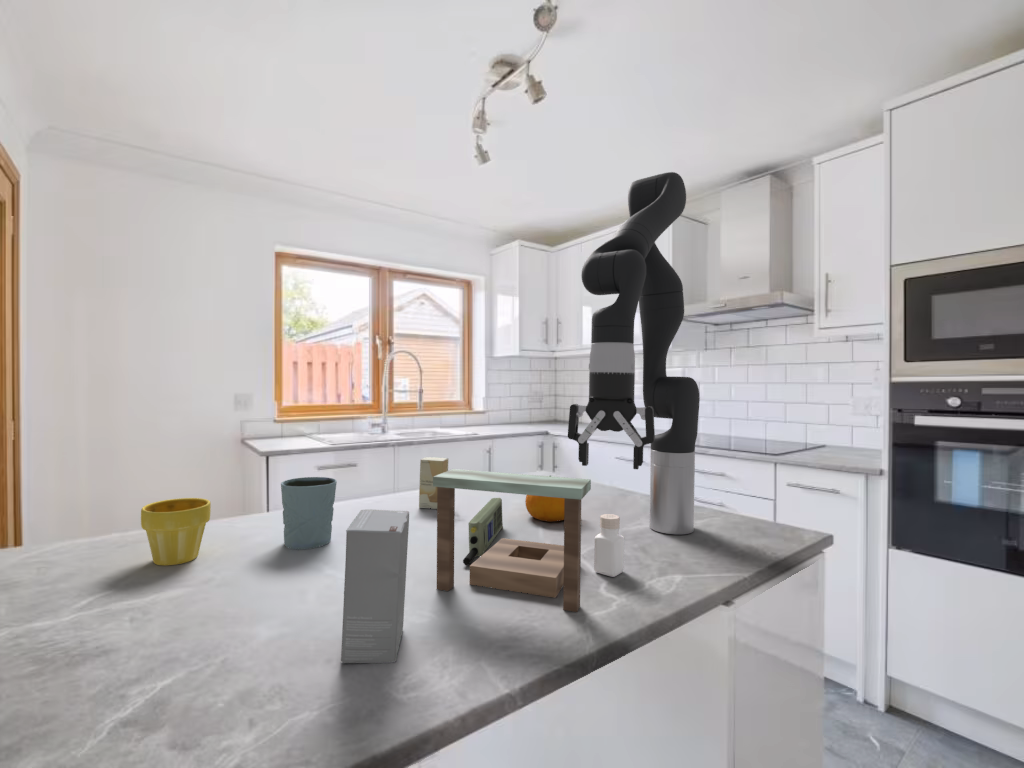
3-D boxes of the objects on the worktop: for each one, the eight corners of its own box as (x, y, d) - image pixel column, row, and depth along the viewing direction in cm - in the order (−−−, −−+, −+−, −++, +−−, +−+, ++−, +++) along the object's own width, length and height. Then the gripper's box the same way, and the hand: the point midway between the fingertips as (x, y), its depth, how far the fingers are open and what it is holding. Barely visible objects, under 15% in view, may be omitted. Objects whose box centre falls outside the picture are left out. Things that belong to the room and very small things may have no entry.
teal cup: (268, 546, 99) (269, 483, 99) (308, 531, 108) (308, 474, 108) (310, 553, 95) (310, 488, 95) (347, 537, 104) (347, 478, 104)
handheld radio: (505, 528, 113) (476, 569, 89) (490, 527, 114) (457, 569, 89) (504, 497, 113) (475, 530, 88) (489, 497, 114) (456, 530, 89)
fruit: (578, 525, 115) (578, 480, 114) (525, 524, 115) (526, 480, 115) (572, 511, 126) (573, 471, 126) (524, 511, 126) (525, 470, 126)
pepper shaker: (604, 566, 90) (605, 512, 90) (625, 571, 88) (626, 516, 87) (592, 572, 87) (593, 516, 87) (614, 579, 84) (614, 521, 84)
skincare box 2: (418, 508, 128) (418, 459, 128) (424, 504, 132) (424, 456, 132) (443, 509, 127) (443, 460, 127) (448, 505, 131) (448, 457, 131)
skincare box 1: (354, 630, 67) (355, 508, 66) (410, 628, 67) (411, 507, 67) (337, 667, 58) (338, 527, 58) (402, 665, 59) (403, 526, 59)
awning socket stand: (479, 551, 97) (480, 458, 97) (602, 567, 89) (603, 466, 89) (432, 590, 79) (433, 476, 79) (579, 614, 72) (581, 488, 71)
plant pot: (218, 559, 92) (218, 504, 91) (149, 575, 84) (149, 515, 84) (200, 545, 99) (200, 494, 99) (134, 559, 91) (134, 504, 91)
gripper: (657, 371, 88) (655, 466, 88) (575, 370, 93) (573, 460, 93) (654, 370, 81) (652, 474, 81) (565, 369, 86) (563, 467, 86)
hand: (610, 466), depth 87 cm, fingers open, 8 cm apart
